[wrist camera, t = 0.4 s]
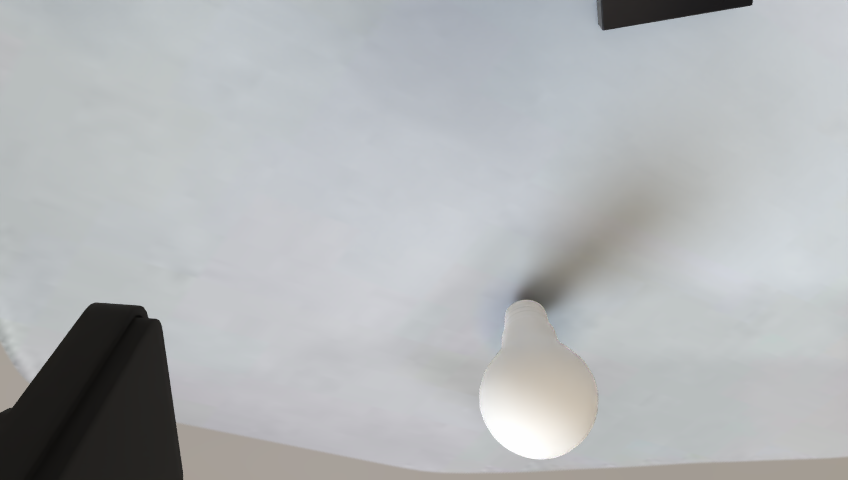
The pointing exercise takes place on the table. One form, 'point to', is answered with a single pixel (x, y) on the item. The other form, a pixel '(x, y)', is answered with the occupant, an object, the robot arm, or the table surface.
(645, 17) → the black lever base
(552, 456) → the lightbulb
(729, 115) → the table surface
